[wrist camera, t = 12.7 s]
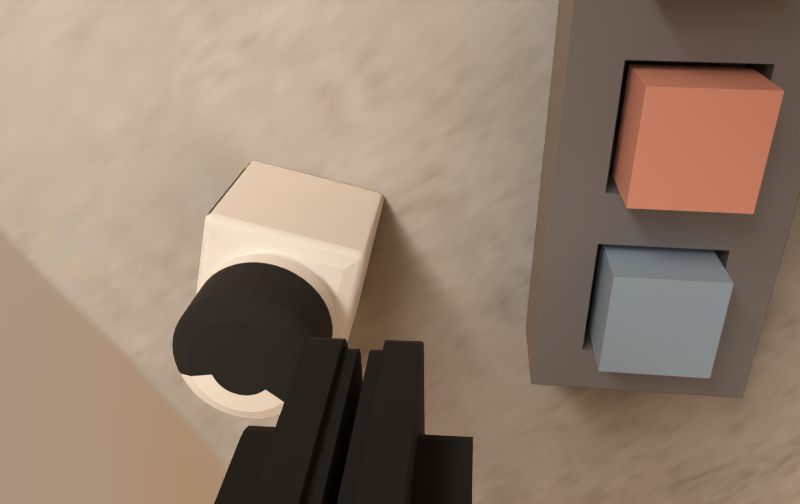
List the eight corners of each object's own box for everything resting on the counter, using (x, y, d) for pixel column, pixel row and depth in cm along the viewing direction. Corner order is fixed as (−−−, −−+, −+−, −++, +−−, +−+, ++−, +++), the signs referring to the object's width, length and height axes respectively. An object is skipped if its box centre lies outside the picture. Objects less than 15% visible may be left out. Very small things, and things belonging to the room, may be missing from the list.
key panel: (583, -237, 28) (602, -257, 24) (854, -238, 27) (925, -260, 23) (525, 327, 40) (531, 384, 36) (713, 339, 39) (742, 397, 35)
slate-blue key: (601, 239, 33) (613, 276, 30) (709, 244, 33) (733, 283, 30) (588, 327, 36) (598, 371, 32) (689, 333, 35) (709, 378, 32)
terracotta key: (628, 64, 30) (646, 86, 26) (752, 67, 29) (784, 90, 26) (612, 175, 32) (626, 208, 29) (726, 180, 31) (753, 214, 28)
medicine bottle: (250, 157, 37) (158, 269, 27) (386, 191, 37) (348, 317, 27) (233, 275, 41) (145, 416, 30) (358, 306, 41) (314, 458, 30)
